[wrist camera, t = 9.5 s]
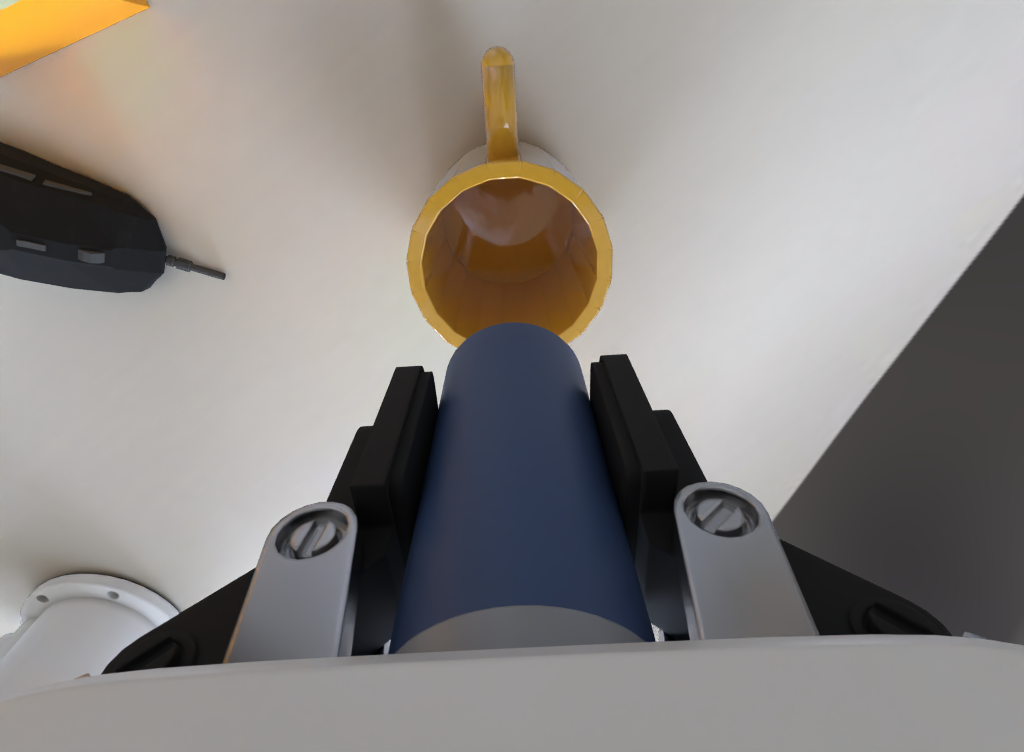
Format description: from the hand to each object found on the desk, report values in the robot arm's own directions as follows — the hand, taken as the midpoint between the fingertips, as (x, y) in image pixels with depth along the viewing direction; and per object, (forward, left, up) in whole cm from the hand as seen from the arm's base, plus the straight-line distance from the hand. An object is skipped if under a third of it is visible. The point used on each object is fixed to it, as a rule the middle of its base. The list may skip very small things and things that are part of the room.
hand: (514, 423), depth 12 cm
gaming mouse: (-23, +1, -20) cm, 31 cm away
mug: (0, +2, -20) cm, 20 cm away
